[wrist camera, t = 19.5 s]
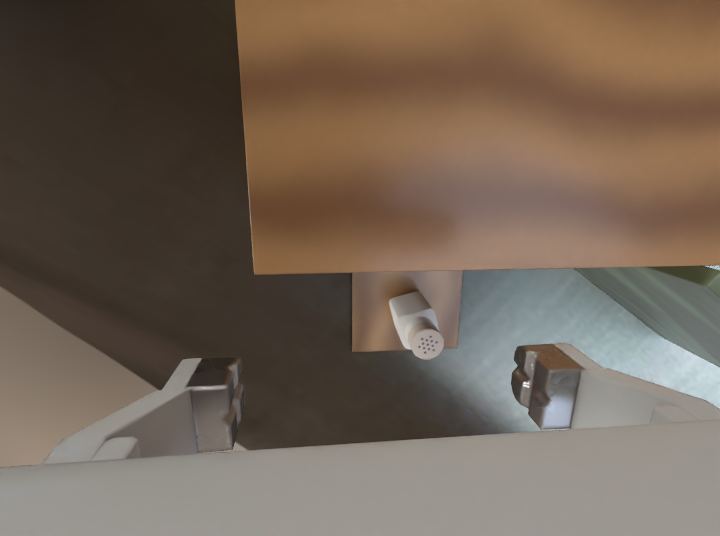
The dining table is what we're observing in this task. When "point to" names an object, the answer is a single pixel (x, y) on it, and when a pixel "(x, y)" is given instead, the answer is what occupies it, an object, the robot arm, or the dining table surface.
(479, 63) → the cupboard
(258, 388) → the dining table surface
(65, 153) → the dining table surface
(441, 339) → the pepper shaker
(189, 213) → the dining table surface
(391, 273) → the coaster
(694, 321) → the cupboard door
